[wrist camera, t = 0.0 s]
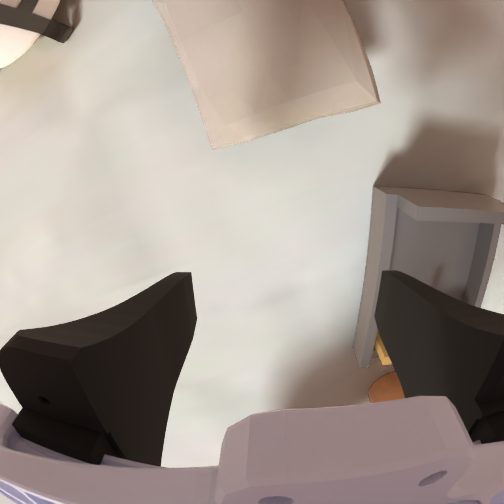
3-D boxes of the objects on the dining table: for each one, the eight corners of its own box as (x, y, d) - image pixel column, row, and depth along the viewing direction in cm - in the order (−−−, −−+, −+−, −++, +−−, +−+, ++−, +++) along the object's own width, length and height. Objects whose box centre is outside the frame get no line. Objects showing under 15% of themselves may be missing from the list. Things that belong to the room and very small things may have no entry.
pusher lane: (451, 336, 25) (477, 374, 20) (352, 347, 26) (367, 394, 20) (484, 194, 20) (528, 214, 15) (372, 186, 21) (405, 205, 15)
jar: (405, 400, 29) (427, 460, 21) (364, 406, 29) (380, 470, 21) (418, 368, 27) (447, 430, 19) (373, 373, 27) (396, 442, 19)
